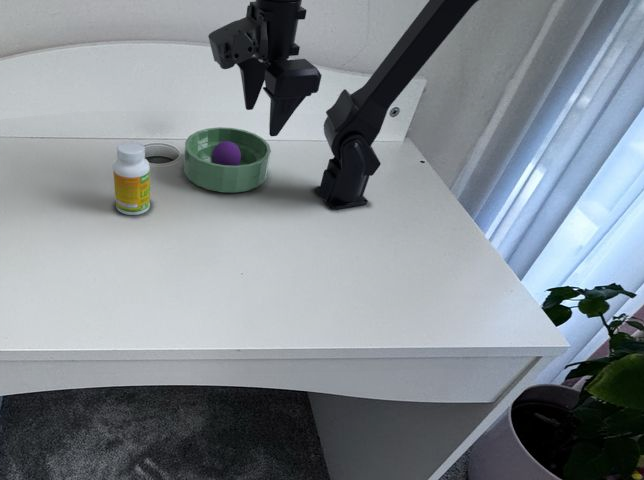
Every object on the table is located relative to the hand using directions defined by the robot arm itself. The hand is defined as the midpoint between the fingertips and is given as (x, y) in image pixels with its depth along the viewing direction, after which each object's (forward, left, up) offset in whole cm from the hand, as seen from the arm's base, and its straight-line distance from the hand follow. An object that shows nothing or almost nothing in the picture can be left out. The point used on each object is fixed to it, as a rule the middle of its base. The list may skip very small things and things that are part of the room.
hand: (260, 122), depth 74 cm
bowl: (+2, -7, -12) cm, 14 cm away
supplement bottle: (+20, -1, -12) cm, 23 cm away
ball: (+2, -7, -9) cm, 11 cm away
